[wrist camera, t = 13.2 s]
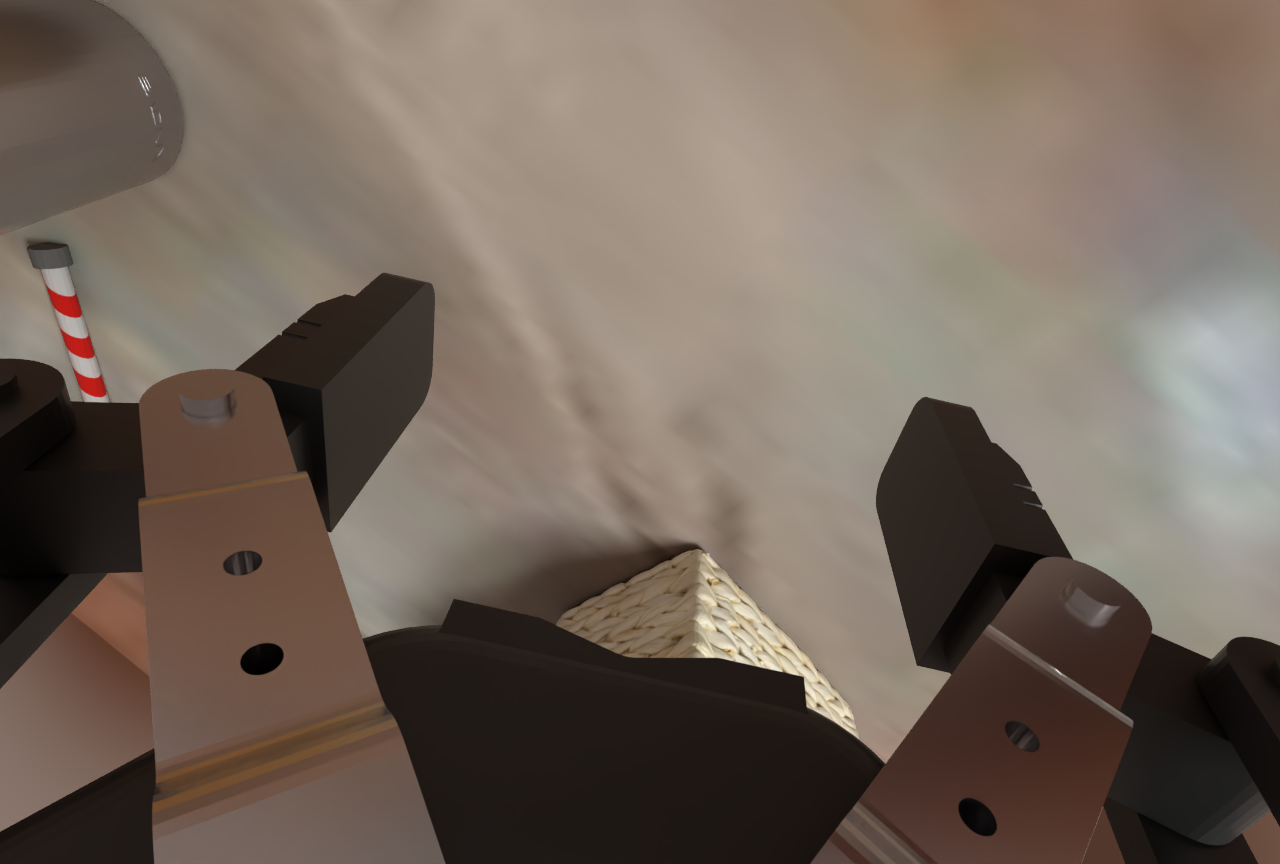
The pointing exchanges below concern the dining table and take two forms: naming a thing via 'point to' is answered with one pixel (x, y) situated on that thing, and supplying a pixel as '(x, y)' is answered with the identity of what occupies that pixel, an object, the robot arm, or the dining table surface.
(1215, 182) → the dining table surface
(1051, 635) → the robot arm
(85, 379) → the toy hammer
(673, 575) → the storage basket
